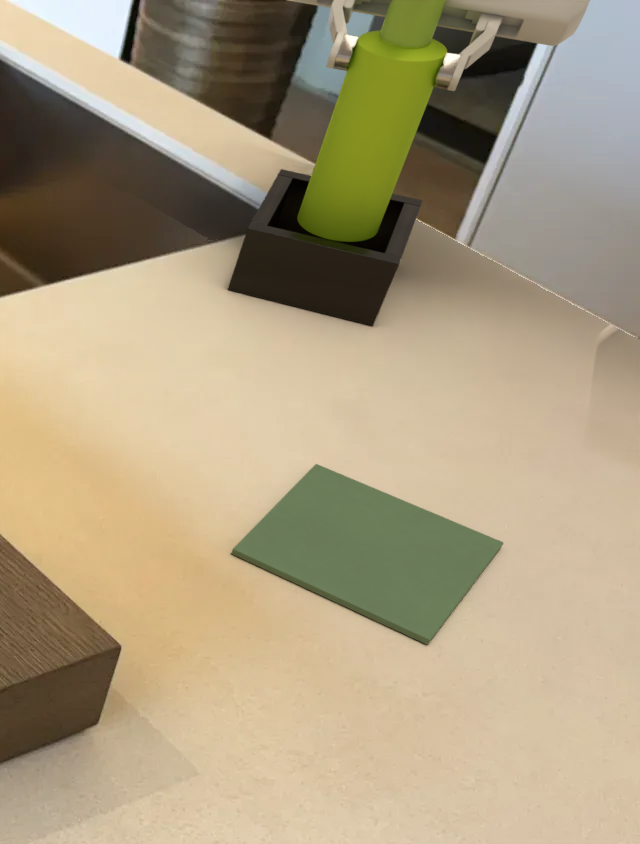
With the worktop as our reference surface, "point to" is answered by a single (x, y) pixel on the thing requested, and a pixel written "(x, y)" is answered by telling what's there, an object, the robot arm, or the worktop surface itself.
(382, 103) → the soap dispenser
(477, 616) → the worktop surface
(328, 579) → the mat
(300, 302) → the box
